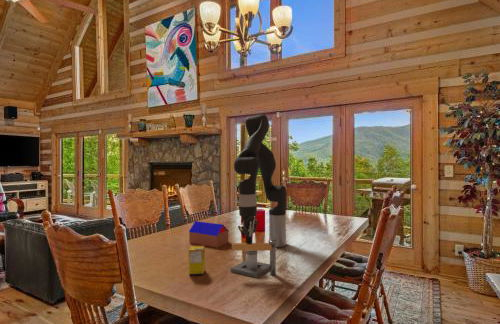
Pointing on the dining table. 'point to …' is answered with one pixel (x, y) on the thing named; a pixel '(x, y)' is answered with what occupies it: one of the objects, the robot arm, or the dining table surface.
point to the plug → (251, 259)
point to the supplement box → (196, 260)
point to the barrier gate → (260, 246)
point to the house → (208, 234)
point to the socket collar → (253, 273)
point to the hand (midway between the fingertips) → (249, 244)
